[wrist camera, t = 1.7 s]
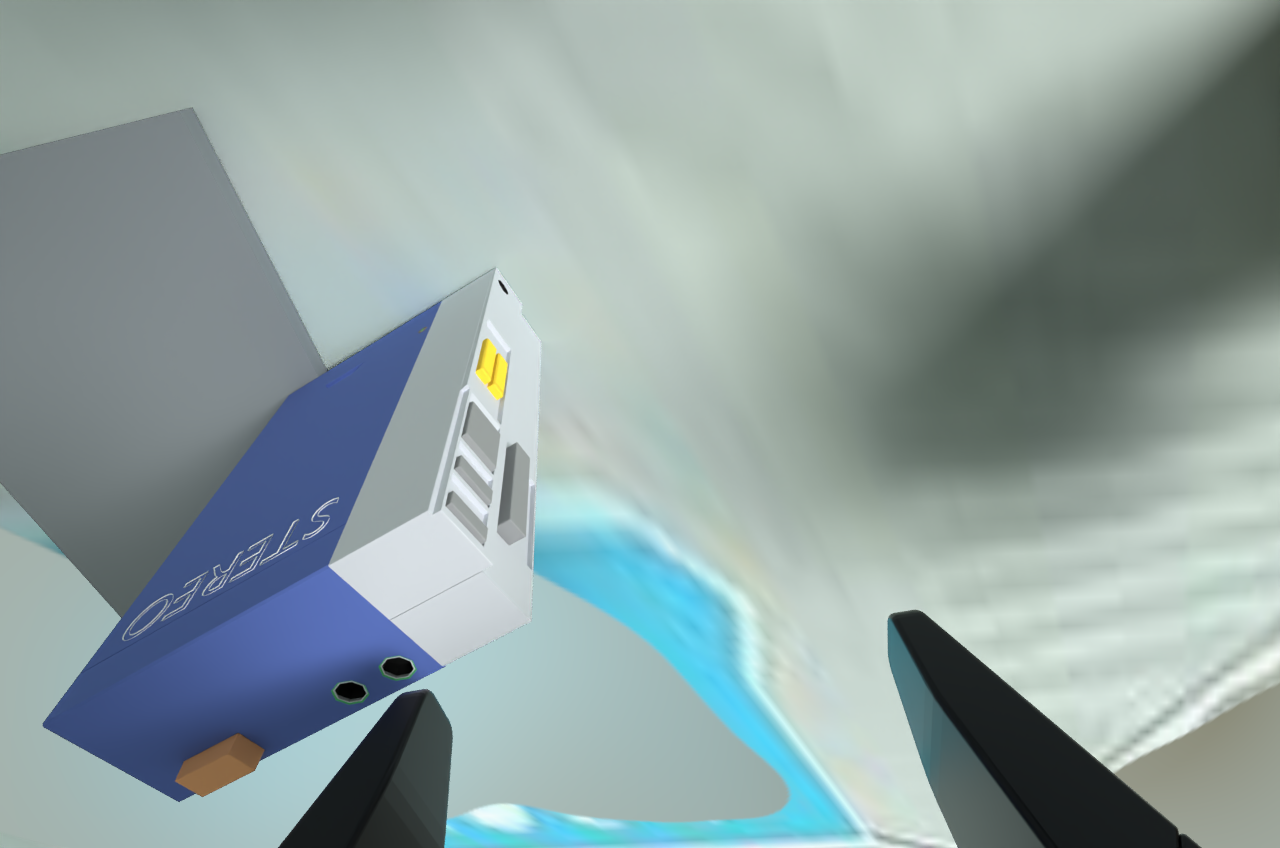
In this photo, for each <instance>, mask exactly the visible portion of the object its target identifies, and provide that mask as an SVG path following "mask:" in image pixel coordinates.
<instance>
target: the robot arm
mask: <svg viewBox="0 0 1280 848" xmlns="http://www.w3.org/2000/svg"><path fill="white" fill-rule="evenodd" d="M888 658H889V663H890V667H891V671H892V674H893V677H894V680H895V683H896V686H897V689H898V692H899V695H900V698H901V701H902V704H903V707H904V710H905V713H906V716H907V719H908V722H909V725H910V728H911V731H912V734H913V737H914V740H915V743H916V746H917V749H918V752H919V755H920V758H921V761H922V764H923V767H924V770H925V773H926V776H927V778H928V781H929V784H930V786H931V789H932V791H933V793H934V796H935V798H936V800H937V803H938V805H939V807H940V809H941V812H942V814H943V816H944V818H945V820H946V823H947V825H948V827H949V829H950V831H951V834H952V836H953V838H954V840H955V842H956V845H957V847H958V848H1201V847H1200V846H1199V845H1198V844H1197V843H1195V842H1194V841H1193V840H1192V839H1191V838H1190V837H1188V836H1187V835H1185V834H1180V835H1179V833H1178V829H1177V827H1176V826H1175V825H1174V824H1173V823H1171V822H1170V821H1169V820H1168V819H1166V818H1165V817H1164V816H1163V815H1162V814H1161V813H1160V812H1158V811H1157V810H1156V809H1155V808H1153V807H1152V806H1151V805H1150V804H1149V803H1148V802H1147V801H1145V800H1144V799H1143V798H1142V797H1141V796H1139V795H1138V794H1137V793H1136V792H1135V791H1133V790H1132V789H1131V788H1130V787H1128V785H1126V784H1125V783H1124V782H1123V781H1122V780H1121V779H1119V778H1118V777H1117V776H1116V775H1115V774H1114V773H1112V772H1111V771H1110V770H1109V769H1108V768H1106V767H1105V766H1104V765H1103V764H1102V763H1101V762H1099V761H1098V760H1097V759H1096V758H1095V757H1093V756H1092V755H1091V754H1090V753H1089V752H1088V751H1086V750H1085V749H1084V748H1083V747H1082V746H1080V745H1079V744H1078V743H1077V742H1076V741H1075V740H1073V739H1072V738H1071V737H1070V736H1069V735H1067V734H1066V733H1065V732H1064V731H1063V730H1062V729H1060V728H1059V727H1058V726H1057V725H1056V724H1054V723H1053V722H1052V721H1051V720H1050V719H1049V718H1047V717H1046V716H1045V715H1044V714H1043V713H1041V712H1040V711H1039V710H1038V709H1037V708H1036V707H1034V706H1033V705H1032V704H1031V703H1030V702H1028V701H1027V700H1026V699H1025V698H1024V697H1023V696H1021V695H1020V694H1019V693H1018V692H1017V691H1015V690H1014V689H1013V688H1012V687H1011V686H1010V685H1008V684H1007V683H1006V682H1005V681H1004V680H1002V679H1001V678H1000V677H999V676H998V675H997V674H995V673H994V672H993V671H992V670H991V669H989V668H988V667H987V666H986V665H985V664H984V663H982V662H981V661H980V660H979V659H978V658H976V657H975V656H974V655H973V654H972V653H971V652H969V651H968V650H967V649H966V648H965V647H963V646H962V645H961V644H960V643H959V642H958V641H956V640H955V639H954V638H953V637H952V636H950V635H949V634H948V633H947V632H946V631H945V630H943V629H942V628H941V627H940V626H939V625H938V624H936V623H935V622H934V621H933V620H932V619H930V618H929V617H928V616H927V615H926V614H924V613H923V612H921V611H919V610H910V611H904V612H898V613H893V614H891V615H890V616H889V618H888ZM452 739H453V737H452V727H451V724H450V722H449V719H448V718H447V717H446V715H445V713H444V711H443V710H442V708H441V706H440V704H439V702H438V701H437V699H436V697H435V696H434V694H433V693H432V692H431V691H429V690H428V689H423V690H417V691H411V692H405V693H402V694H401V695H399V696H398V697H397V698H396V699H395V700H394V702H393V703H392V704H391V705H390V707H389V708H388V709H387V711H386V712H385V713H384V714H383V716H382V717H381V718H380V719H379V721H378V722H377V723H376V724H375V726H374V727H373V728H372V730H371V731H370V732H369V733H368V735H367V736H366V737H365V739H364V740H363V741H362V742H361V743H360V745H359V746H358V747H357V749H356V750H355V751H354V752H353V754H352V755H351V756H350V757H349V759H348V760H347V761H346V762H345V764H344V765H343V766H342V768H341V769H340V770H339V771H338V773H337V774H336V775H335V776H334V778H333V779H332V780H331V782H330V783H329V784H328V785H327V787H326V788H325V789H324V790H323V792H322V793H321V794H320V795H319V797H318V798H317V799H316V800H315V802H314V803H313V804H312V805H311V807H310V808H309V810H308V811H307V812H306V813H305V814H304V816H303V817H302V818H301V819H300V821H299V822H298V823H297V824H296V826H295V827H294V829H293V830H292V831H291V832H290V833H289V835H288V836H287V837H286V838H285V840H284V841H283V842H282V843H281V845H280V846H279V847H278V848H444V844H445V834H446V821H447V807H448V794H449V781H450V765H451V754H452Z"/></svg>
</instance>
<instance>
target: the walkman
mask: <svg viewBox="0 0 1280 848" xmlns="http://www.w3.org/2000/svg"><path fill="white" fill-rule="evenodd" d="M522 306H523V304H522V303H521V301H520V300H519V299H518V297H517V296H516V294H515V293H514V291H513V290H512V289H511V287H510V286H509V284H508V283H507V281H506V280H505V279H504V277H503V276H502V274H501V273H500V271H499V270H498V269H497V267H496V268H494V269H492V270H491V271H489V272H488V273H486V274H484V275H483V276H481V277H479V278H478V279H476V280H475V281H473V282H471V283H470V284H468V285H466V286H465V287H463V288H462V289H460V290H458V291H457V292H455V293H453V294H452V295H450V296H449V297H447V298H445V299H444V300H442V301H441V302H439V303H438V304H436V305H434V306H433V307H431V308H429V309H428V310H426V311H425V312H423V313H421V314H420V315H418V316H416V317H415V318H413V319H412V320H410V321H408V322H407V323H405V324H403V325H402V326H400V327H399V328H397V329H395V330H394V331H392V332H391V333H389V334H387V335H386V336H384V337H382V338H381V339H379V340H378V341H376V342H374V343H373V344H371V345H369V346H368V347H366V348H365V349H363V350H361V351H360V352H358V353H356V354H355V355H353V356H352V357H350V358H348V359H347V360H345V361H343V362H342V363H340V364H339V365H337V366H335V367H334V368H332V369H331V370H329V371H327V372H326V373H324V374H322V375H321V376H319V377H318V378H316V379H314V380H313V381H311V382H309V383H308V384H306V385H305V386H303V387H301V388H300V389H298V390H296V391H295V392H293V393H292V394H290V395H289V396H288V397H287V398H286V400H285V401H284V402H283V404H282V405H281V406H280V408H279V409H278V410H277V412H276V413H275V414H274V416H273V417H272V418H271V420H270V421H269V422H268V424H267V425H266V426H265V428H264V429H263V430H262V432H261V433H260V434H259V436H258V437H257V438H256V440H255V441H254V442H253V444H252V445H251V446H250V448H249V449H248V450H247V452H246V453H245V454H244V456H243V457H242V458H241V460H240V461H239V462H238V464H237V465H236V466H235V468H234V469H233V470H232V472H231V473H230V474H229V476H228V477H227V478H226V480H225V481H224V482H223V484H222V485H221V486H220V488H219V489H218V490H217V492H216V493H215V494H214V496H213V497H212V498H211V500H210V501H209V502H208V504H207V505H206V506H205V508H204V509H203V510H202V512H201V513H200V514H199V516H198V517H197V518H196V520H195V521H194V522H193V524H192V525H191V526H190V528H189V529H188V530H187V532H186V533H185V534H184V536H183V537H182V538H181V540H180V541H179V542H178V544H177V545H176V546H175V548H174V549H173V550H172V552H171V553H170V554H169V556H168V557H167V558H166V560H165V561H164V562H163V564H162V565H161V566H160V568H159V569H158V570H157V572H156V573H155V574H154V576H153V577H152V578H151V580H150V581H149V582H148V584H147V585H146V586H145V588H144V589H143V590H142V592H141V593H140V594H139V596H138V597H137V598H136V600H135V601H134V602H133V604H132V605H131V606H130V608H129V609H128V610H127V612H126V613H125V614H124V616H123V617H122V618H121V620H120V621H119V623H118V624H117V625H116V627H115V628H114V629H113V630H112V632H111V633H110V635H109V636H108V637H107V638H106V640H105V641H104V643H103V644H102V645H101V647H100V648H99V649H98V650H97V652H96V653H95V654H94V656H93V657H92V658H91V660H90V661H89V662H88V664H87V665H86V666H85V668H84V669H83V670H82V672H81V673H80V675H79V676H78V677H77V679H76V680H75V681H74V683H73V684H72V685H71V687H70V688H69V689H68V690H67V692H66V693H65V694H64V696H63V697H62V698H61V700H60V701H59V702H58V704H57V705H56V706H55V708H54V709H53V710H52V712H51V713H50V714H49V716H48V717H47V718H46V720H45V721H44V723H43V727H44V728H46V729H48V730H50V731H52V732H53V733H55V734H57V735H59V736H61V737H62V738H64V739H66V740H68V741H70V742H71V743H73V744H75V745H77V746H79V747H81V748H82V749H84V750H86V751H88V752H90V753H91V754H93V755H95V756H97V757H99V758H100V759H102V760H104V761H106V762H108V763H109V764H111V765H113V766H115V767H117V768H118V769H120V770H122V771H124V772H126V773H127V774H129V775H131V776H133V777H135V778H136V779H138V780H140V781H142V782H144V783H145V784H147V785H149V786H151V787H153V788H155V789H156V790H158V791H160V792H162V793H164V794H165V795H167V796H169V797H171V798H173V799H174V800H176V801H178V802H180V801H182V800H184V799H186V798H188V797H190V796H192V795H194V794H198V795H200V796H201V797H204V796H206V795H208V794H209V793H212V792H213V791H215V790H217V789H219V788H221V787H223V786H225V785H227V784H229V783H231V782H233V781H235V780H237V779H239V778H241V777H243V776H245V775H247V774H249V773H251V772H253V771H255V769H256V767H257V765H258V763H259V761H261V760H262V759H264V758H266V757H268V756H270V755H272V754H274V753H276V752H278V751H280V750H282V749H284V748H286V747H288V746H290V745H292V744H294V743H296V742H298V741H300V740H302V739H304V738H306V737H307V736H310V735H312V734H313V733H316V732H318V731H319V730H322V729H323V728H325V727H327V726H329V725H331V724H333V723H335V722H337V721H339V720H341V719H343V718H345V717H347V716H349V715H351V714H353V713H355V712H357V711H359V710H361V709H363V708H365V707H367V706H369V705H371V704H373V703H375V702H376V701H379V700H380V699H382V698H384V697H386V696H388V695H390V694H392V693H394V692H396V691H398V690H400V689H402V688H404V687H406V686H408V685H410V684H412V683H414V682H416V681H418V680H420V679H422V678H424V677H426V676H428V675H430V674H432V673H434V672H436V671H438V670H439V669H441V668H444V667H445V665H447V664H449V663H451V662H453V661H455V660H457V659H459V658H461V657H463V656H465V655H467V654H468V653H471V652H472V651H474V650H476V649H478V648H480V647H482V646H484V645H486V644H488V643H490V642H492V641H494V640H496V639H498V638H500V637H502V636H504V635H506V634H508V633H510V632H512V631H514V630H516V629H518V628H520V627H522V626H524V625H526V624H528V623H530V622H531V618H532V616H531V615H532V591H533V590H532V589H533V564H534V536H535V508H536V481H537V453H538V425H539V398H540V370H541V340H540V339H539V338H538V336H537V335H536V333H535V332H534V331H533V329H532V328H531V326H530V325H529V324H528V322H527V321H526V319H525V318H524V317H523V315H522Z"/></svg>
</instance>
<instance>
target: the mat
mask: <svg viewBox="0 0 1280 848" xmlns="http://www.w3.org/2000/svg"><path fill="white" fill-rule="evenodd" d="M326 372H327V369H326V367H325V365H324V363H323V361H322V359H321V357H320V355H319V353H318V351H317V349H316V347H315V345H314V343H313V342H312V340H311V338H310V336H309V334H308V332H307V330H306V328H305V326H304V324H303V322H302V320H301V318H300V316H299V314H298V312H297V310H296V308H295V306H294V305H293V303H292V301H291V299H290V297H289V295H288V293H287V291H286V289H285V287H284V285H283V283H282V281H281V279H280V277H279V275H278V273H277V271H276V270H275V268H274V266H273V264H272V262H271V260H270V258H269V256H268V254H267V252H266V250H265V248H264V246H263V244H262V242H261V240H260V238H259V236H258V234H257V233H256V231H255V229H254V227H253V225H252V223H251V221H250V219H249V217H248V215H247V213H246V211H245V209H244V207H243V205H242V203H241V201H240V199H239V198H238V196H237V194H236V192H235V190H234V188H233V186H232V184H231V182H230V180H229V178H228V176H227V174H226V172H225V170H224V168H223V166H222V164H221V162H220V161H219V159H218V157H217V155H216V153H215V151H214V149H213V147H212V145H211V143H210V141H209V139H208V137H207V135H206V133H205V131H204V129H203V127H202V126H201V124H200V122H199V120H198V118H197V116H196V114H195V112H194V110H193V108H189V109H184V110H180V111H175V112H171V113H167V114H163V115H159V116H155V117H151V118H147V119H143V120H139V121H135V122H131V123H127V124H123V125H119V126H115V127H111V128H107V129H103V130H99V131H95V132H91V133H87V134H82V135H78V136H74V137H70V138H66V139H62V140H58V141H54V142H50V143H46V144H42V145H38V146H34V147H30V148H26V149H22V150H18V151H14V152H10V153H6V154H2V155H0V483H1V484H2V485H3V486H4V487H5V489H6V490H7V491H8V492H9V493H10V494H11V495H12V496H13V497H14V499H15V500H16V501H17V502H18V503H19V504H20V505H21V506H22V508H23V509H24V510H25V511H26V512H27V513H28V514H29V515H30V516H31V518H32V519H33V520H34V521H35V522H36V523H37V524H38V525H39V526H40V528H41V529H42V530H43V531H44V532H45V533H46V534H47V535H48V537H49V538H50V539H51V540H52V541H53V542H54V543H55V544H56V545H57V547H58V548H59V549H60V550H61V551H62V552H63V553H64V554H65V555H66V557H67V558H68V559H69V560H70V561H71V562H72V563H73V564H74V565H75V566H76V568H77V569H78V570H79V571H80V572H81V573H82V574H83V575H84V577H85V578H86V579H87V580H88V581H89V582H90V583H91V584H92V586H93V587H94V588H95V589H96V590H97V591H98V592H99V593H100V594H101V595H102V597H103V598H104V599H105V600H106V601H107V602H108V603H109V604H110V606H111V607H112V608H113V609H114V610H115V611H116V612H117V613H118V615H119V616H120V617H121V618H122V617H123V616H124V614H125V613H126V612H127V610H128V609H129V608H130V606H131V605H132V604H133V602H134V601H135V600H136V598H137V597H138V596H139V594H140V593H141V592H142V590H143V589H144V588H145V586H146V585H147V584H148V582H149V581H150V580H151V578H152V577H153V576H154V574H155V573H156V572H157V570H158V569H159V568H160V566H161V565H162V564H163V562H164V561H165V560H166V558H167V557H168V556H169V554H170V553H171V552H172V550H173V549H174V548H175V546H176V545H177V544H178V542H179V541H180V540H181V538H182V537H183V536H184V534H185V533H186V532H187V530H188V529H189V528H190V526H191V525H192V524H193V522H194V521H195V520H196V518H197V517H198V516H199V514H200V513H201V512H202V510H203V509H204V508H205V506H206V505H207V504H208V502H209V501H210V500H211V498H212V497H213V496H214V494H215V493H216V492H217V490H218V489H219V488H220V486H221V485H222V484H223V482H224V481H225V480H226V478H227V477H228V476H229V474H230V473H231V472H232V470H233V469H234V468H235V466H236V465H237V464H238V462H239V461H240V460H241V458H242V457H243V456H244V454H245V453H246V452H247V450H248V449H249V448H250V446H251V445H252V444H253V442H254V441H255V440H256V438H257V437H258V436H259V434H260V433H261V432H262V430H263V429H264V428H265V426H266V425H267V424H268V422H269V421H270V420H271V418H272V417H273V416H274V414H275V413H276V412H277V410H278V409H279V408H280V406H281V405H282V404H283V402H284V401H285V400H286V398H287V397H288V396H289V395H290V394H292V393H293V392H295V391H296V390H298V389H300V388H301V387H303V386H305V385H306V384H308V383H309V382H311V381H313V380H314V379H316V378H318V377H319V376H321V375H322V374H324V373H326Z"/></svg>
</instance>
